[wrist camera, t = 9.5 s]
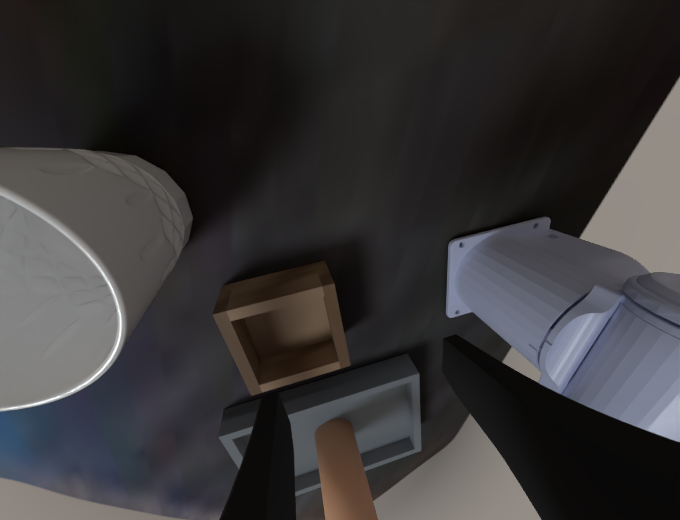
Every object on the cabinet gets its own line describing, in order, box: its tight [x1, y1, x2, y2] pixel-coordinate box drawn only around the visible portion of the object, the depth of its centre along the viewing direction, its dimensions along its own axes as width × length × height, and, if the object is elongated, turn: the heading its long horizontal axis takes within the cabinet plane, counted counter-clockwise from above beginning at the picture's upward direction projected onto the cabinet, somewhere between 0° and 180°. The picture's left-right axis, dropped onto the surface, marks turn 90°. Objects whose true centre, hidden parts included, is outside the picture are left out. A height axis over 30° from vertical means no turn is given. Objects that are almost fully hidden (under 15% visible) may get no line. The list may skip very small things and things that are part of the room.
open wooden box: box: [213, 261, 351, 396], centre depth 19 cm, size 8×8×4 cm
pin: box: [314, 419, 378, 520], centre depth 23 cm, size 4×4×9 cm
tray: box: [219, 353, 421, 496], centre depth 27 cm, size 18×13×2 cm
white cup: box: [0, 147, 193, 411], centre depth 11 cm, size 8×8×10 cm
